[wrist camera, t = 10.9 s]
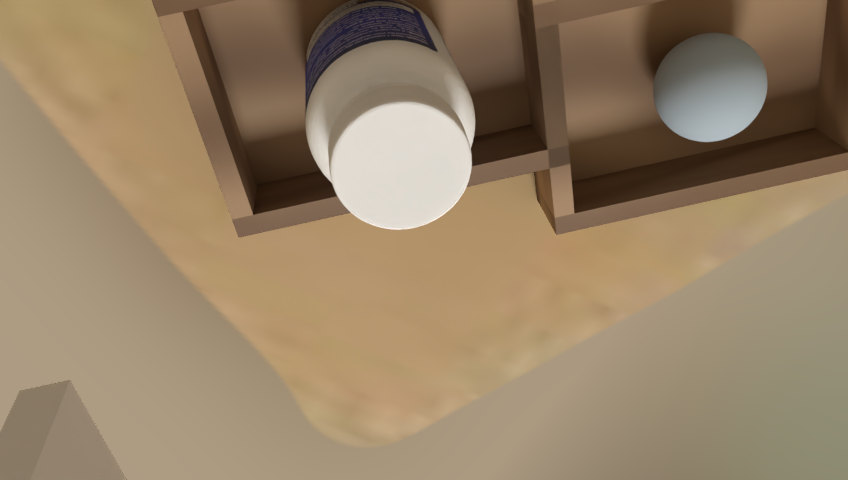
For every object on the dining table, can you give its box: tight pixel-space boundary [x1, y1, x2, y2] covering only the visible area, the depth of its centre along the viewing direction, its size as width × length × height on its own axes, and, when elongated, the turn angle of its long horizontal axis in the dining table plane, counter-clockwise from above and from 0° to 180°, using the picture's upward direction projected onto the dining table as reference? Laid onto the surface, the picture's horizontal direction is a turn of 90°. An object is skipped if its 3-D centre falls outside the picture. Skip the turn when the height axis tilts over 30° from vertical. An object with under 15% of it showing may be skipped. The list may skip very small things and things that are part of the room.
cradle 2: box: [517, 0, 848, 235], centre depth 29 cm, size 9×13×3 cm
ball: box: [653, 33, 767, 142], centre depth 28 cm, size 4×4×4 cm
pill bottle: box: [305, 0, 475, 230], centre depth 25 cm, size 5×5×9 cm
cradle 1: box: [152, 0, 570, 237], centre depth 28 cm, size 9×13×3 cm
